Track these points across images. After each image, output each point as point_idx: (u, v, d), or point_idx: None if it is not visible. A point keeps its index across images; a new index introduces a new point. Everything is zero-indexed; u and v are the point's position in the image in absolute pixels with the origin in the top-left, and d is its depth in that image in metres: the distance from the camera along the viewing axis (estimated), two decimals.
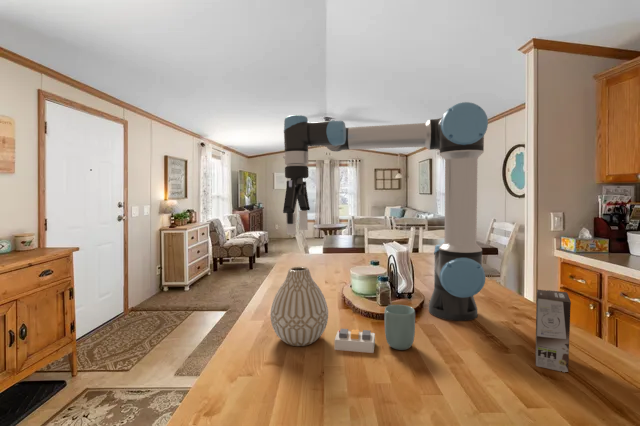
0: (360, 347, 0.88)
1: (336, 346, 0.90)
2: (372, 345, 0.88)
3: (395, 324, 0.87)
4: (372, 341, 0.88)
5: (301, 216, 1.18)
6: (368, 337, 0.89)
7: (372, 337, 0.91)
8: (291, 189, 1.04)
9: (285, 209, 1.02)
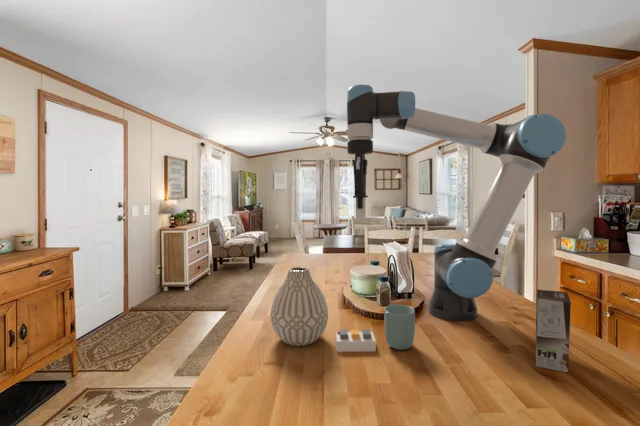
0: (363, 346, 0.89)
1: (338, 348, 0.89)
2: (374, 344, 0.89)
3: (395, 324, 0.87)
4: (374, 340, 0.89)
5: None
6: (369, 336, 0.90)
7: (372, 336, 0.92)
8: (359, 172, 0.98)
9: (356, 193, 1.00)
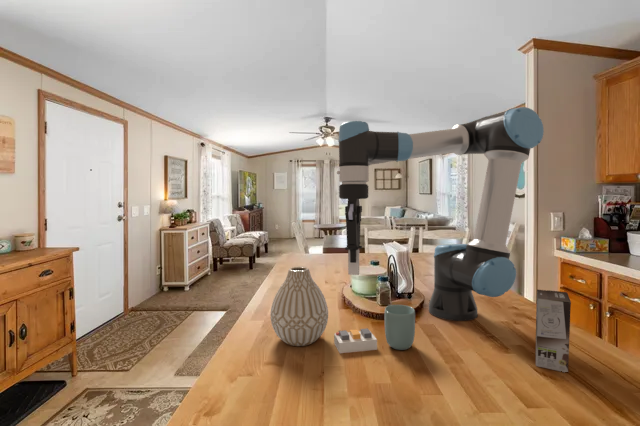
0: (365, 346, 0.89)
1: (341, 349, 0.88)
2: (376, 342, 0.90)
3: (395, 324, 0.87)
4: (375, 338, 0.90)
5: None
6: (370, 335, 0.91)
7: (371, 334, 0.92)
8: (352, 223, 0.85)
9: (349, 246, 0.87)
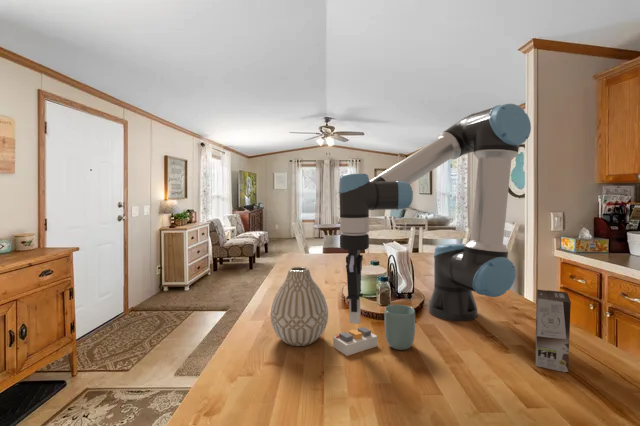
0: (367, 344, 0.90)
1: (348, 351, 0.87)
2: (376, 339, 0.91)
3: (395, 324, 0.87)
4: (375, 335, 0.92)
5: None
6: (369, 333, 0.92)
7: None
8: (353, 275, 0.85)
9: (350, 297, 0.88)
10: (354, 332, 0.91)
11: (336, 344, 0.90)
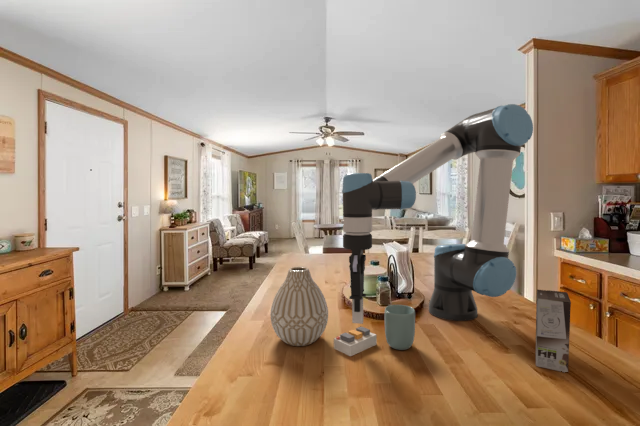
0: (368, 343, 0.90)
1: (351, 352, 0.86)
2: (375, 337, 0.92)
3: (395, 324, 0.87)
4: (374, 334, 0.93)
5: None
6: (369, 332, 0.93)
7: None
8: (357, 275, 0.85)
9: (353, 297, 0.87)
10: (354, 332, 0.91)
11: (337, 346, 0.89)
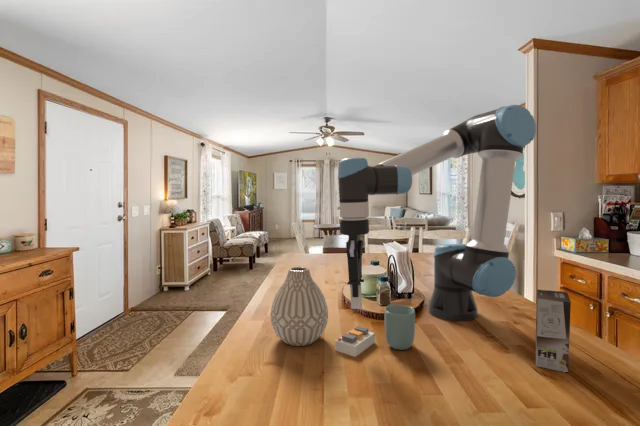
0: (368, 342, 0.91)
1: (356, 352, 0.86)
2: (374, 336, 0.93)
3: (395, 324, 0.87)
4: (372, 332, 0.94)
5: None
6: (367, 331, 0.93)
7: None
8: (354, 260, 0.85)
9: (351, 282, 0.87)
10: (355, 332, 0.91)
11: (340, 347, 0.88)
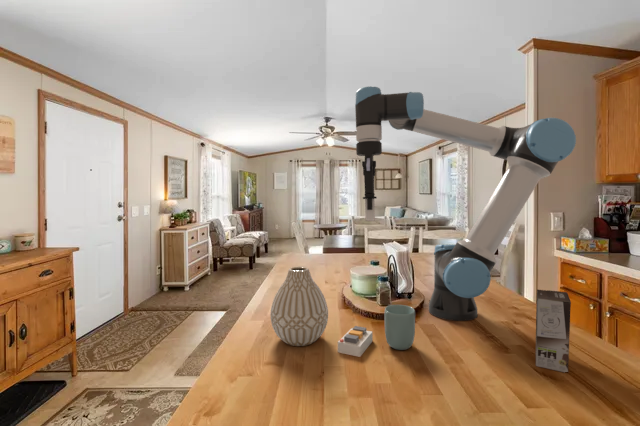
0: (368, 341, 0.92)
1: (360, 352, 0.86)
2: None
3: (395, 324, 0.87)
4: (370, 331, 0.95)
5: None
6: (365, 330, 0.94)
7: None
8: (370, 174, 0.99)
9: (367, 194, 1.01)
10: (355, 332, 0.91)
11: (343, 348, 0.88)
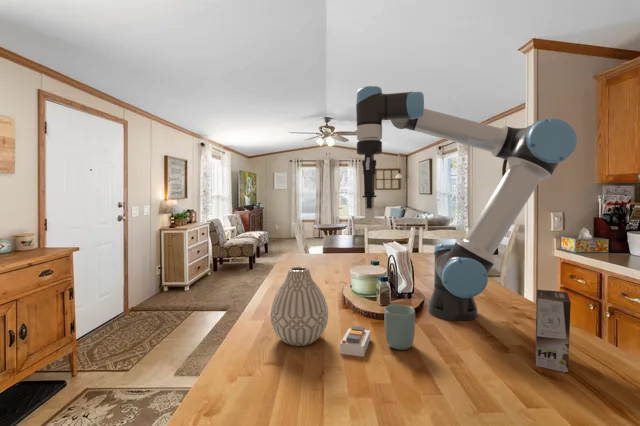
0: (368, 340, 0.92)
1: (364, 352, 0.86)
2: None
3: (395, 324, 0.87)
4: (367, 330, 0.95)
5: None
6: None
7: None
8: (369, 172, 1.00)
9: (366, 193, 1.02)
10: (355, 332, 0.91)
11: (346, 349, 0.87)
